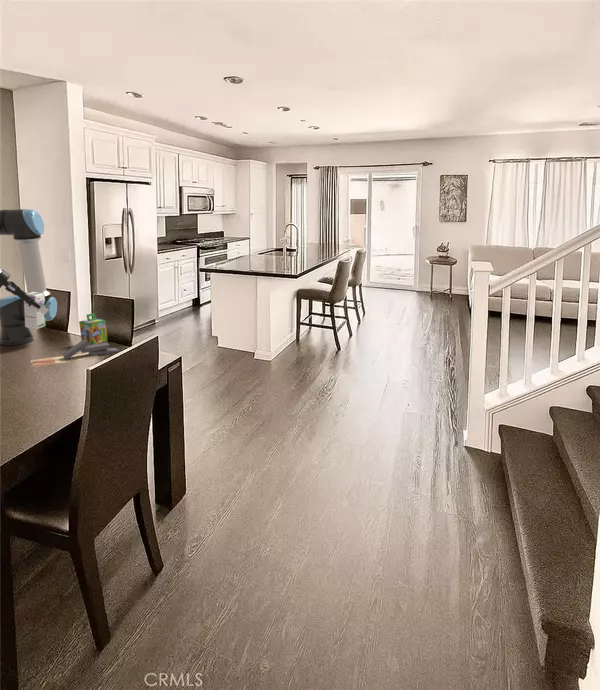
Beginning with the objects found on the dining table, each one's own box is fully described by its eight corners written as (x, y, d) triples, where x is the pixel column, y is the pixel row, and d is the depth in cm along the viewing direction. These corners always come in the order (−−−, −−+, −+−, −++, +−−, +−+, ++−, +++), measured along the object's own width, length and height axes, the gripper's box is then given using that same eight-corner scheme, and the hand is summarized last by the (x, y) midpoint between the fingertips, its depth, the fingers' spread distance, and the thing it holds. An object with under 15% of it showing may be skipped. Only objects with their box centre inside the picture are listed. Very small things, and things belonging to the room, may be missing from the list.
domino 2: (79, 346, 237) (106, 342, 243) (80, 350, 238) (107, 346, 244) (81, 349, 233) (109, 344, 239) (82, 353, 234) (109, 348, 240)
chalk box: (93, 346, 256) (89, 316, 252) (81, 344, 260) (77, 314, 256) (108, 342, 263) (105, 313, 259) (96, 340, 268) (93, 311, 264)
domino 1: (62, 354, 234) (85, 338, 237) (64, 357, 235) (87, 341, 238) (63, 357, 230) (87, 340, 233) (66, 360, 230) (90, 343, 234)
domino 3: (88, 349, 240) (115, 347, 246) (88, 353, 240) (115, 351, 247) (90, 351, 236) (118, 350, 242) (90, 355, 236) (118, 354, 242)
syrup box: (37, 329, 221) (36, 295, 217) (24, 327, 222) (23, 293, 217) (45, 326, 226) (45, 293, 222) (33, 324, 227) (32, 291, 223)
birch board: (30, 362, 231) (30, 360, 231) (92, 353, 244) (92, 350, 244) (34, 369, 221) (34, 367, 221) (98, 359, 235) (98, 356, 234)
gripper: (-13, 280, 219) (35, 313, 231) (-10, 286, 202) (42, 321, 215) (-1, 266, 220) (47, 300, 233) (4, 271, 203) (54, 307, 216)
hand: (44, 310), depth 224 cm, fingers closed on syrup box, 8 cm apart
